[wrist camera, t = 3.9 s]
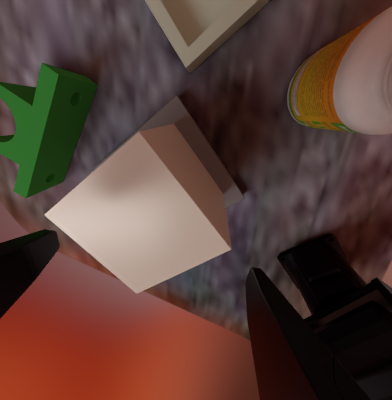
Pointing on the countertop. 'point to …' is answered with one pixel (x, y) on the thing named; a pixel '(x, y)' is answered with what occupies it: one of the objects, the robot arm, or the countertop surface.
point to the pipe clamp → (45, 126)
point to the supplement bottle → (348, 82)
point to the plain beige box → (153, 202)
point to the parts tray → (201, 24)
